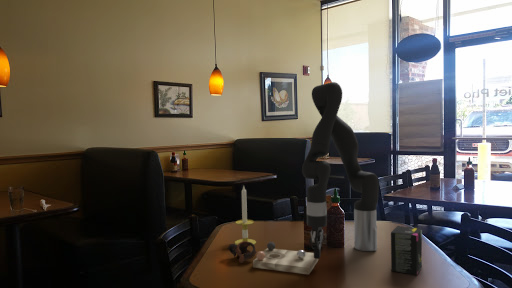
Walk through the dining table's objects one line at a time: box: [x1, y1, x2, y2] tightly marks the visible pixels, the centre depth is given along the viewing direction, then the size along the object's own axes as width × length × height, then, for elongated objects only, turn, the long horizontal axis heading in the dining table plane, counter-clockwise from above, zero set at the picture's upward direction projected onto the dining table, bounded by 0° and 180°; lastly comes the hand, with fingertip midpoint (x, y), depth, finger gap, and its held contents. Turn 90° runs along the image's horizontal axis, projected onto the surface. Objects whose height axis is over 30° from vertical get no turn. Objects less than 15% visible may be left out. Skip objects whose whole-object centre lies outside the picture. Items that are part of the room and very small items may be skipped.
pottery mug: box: [227, 241, 258, 264], centre depth 159 cm, size 12×10×8 cm
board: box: [252, 248, 320, 275], centre depth 153 cm, size 22×16×2 cm
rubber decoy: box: [266, 241, 276, 250], centre depth 162 cm, size 3×3×3 cm
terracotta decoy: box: [255, 250, 265, 260], centre depth 151 cm, size 3×3×3 cm
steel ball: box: [297, 249, 306, 259], centre depth 151 cm, size 3×3×3 cm
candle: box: [234, 185, 257, 247], centre depth 180 cm, size 10×10×27 cm
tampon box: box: [390, 225, 423, 276], centre depth 145 cm, size 11×9×15 cm
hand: (317, 257), depth 148 cm, fingers closed
